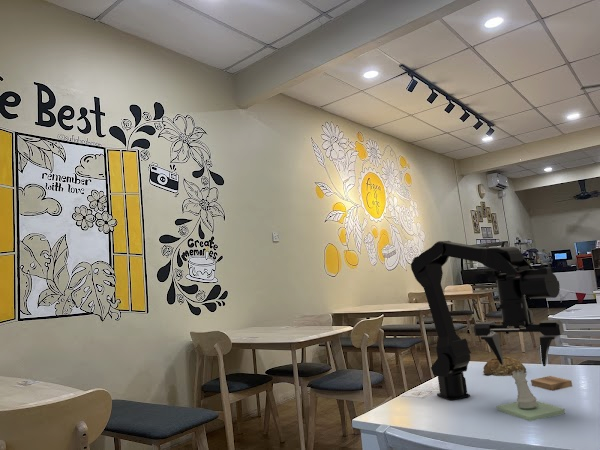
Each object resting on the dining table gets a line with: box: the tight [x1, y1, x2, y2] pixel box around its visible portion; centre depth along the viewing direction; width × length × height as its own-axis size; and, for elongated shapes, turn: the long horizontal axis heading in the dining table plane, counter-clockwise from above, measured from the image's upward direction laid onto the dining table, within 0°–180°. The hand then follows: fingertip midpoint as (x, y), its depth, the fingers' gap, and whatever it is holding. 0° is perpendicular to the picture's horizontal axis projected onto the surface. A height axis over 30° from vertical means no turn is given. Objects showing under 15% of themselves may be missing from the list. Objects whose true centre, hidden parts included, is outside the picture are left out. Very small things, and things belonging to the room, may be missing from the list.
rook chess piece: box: [511, 370, 538, 409], centre depth 104 cm, size 4×4×8 cm
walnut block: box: [530, 375, 573, 391], centre depth 122 cm, size 7×7×2 cm
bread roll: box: [483, 356, 527, 377], centre depth 143 cm, size 13×12×5 cm
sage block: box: [496, 400, 566, 422], centre depth 103 cm, size 10×10×2 cm
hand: (522, 365), depth 104 cm, fingers open, 9 cm apart
